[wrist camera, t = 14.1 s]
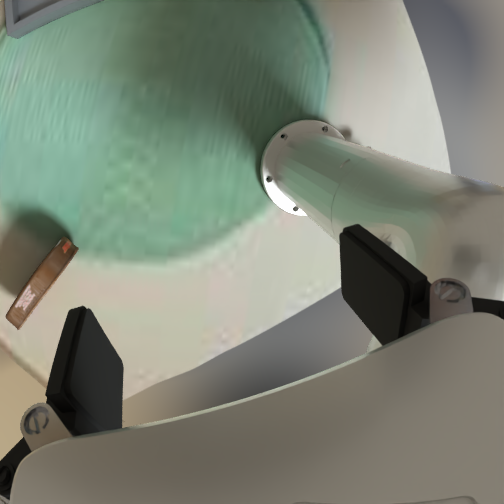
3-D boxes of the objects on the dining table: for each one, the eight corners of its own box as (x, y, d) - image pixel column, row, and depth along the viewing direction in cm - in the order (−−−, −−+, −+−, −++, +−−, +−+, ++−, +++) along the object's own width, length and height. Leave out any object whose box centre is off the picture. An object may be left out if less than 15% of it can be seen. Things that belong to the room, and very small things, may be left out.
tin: (31, 306, 38) (15, 343, 31) (16, 293, 36) (-4, 329, 29) (86, 238, 36) (70, 272, 29) (68, 222, 35) (48, 253, 28)
